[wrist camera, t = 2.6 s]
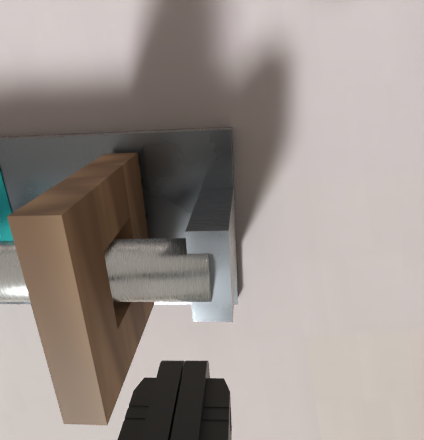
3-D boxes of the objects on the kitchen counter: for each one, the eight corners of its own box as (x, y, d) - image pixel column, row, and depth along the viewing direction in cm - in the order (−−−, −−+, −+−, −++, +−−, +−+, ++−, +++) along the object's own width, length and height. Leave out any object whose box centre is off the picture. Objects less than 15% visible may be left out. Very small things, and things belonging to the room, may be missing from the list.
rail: (231, 127, 23) (224, 158, 15) (237, 297, 27) (234, 387, 20) (-105, 142, 25) (-256, 176, 18) (-48, 297, 30) (-150, 378, 22)
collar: (137, 152, 23) (61, 215, 13) (156, 297, 26) (106, 425, 17) (104, 153, 23) (7, 216, 14) (127, 297, 26) (63, 423, 17)
